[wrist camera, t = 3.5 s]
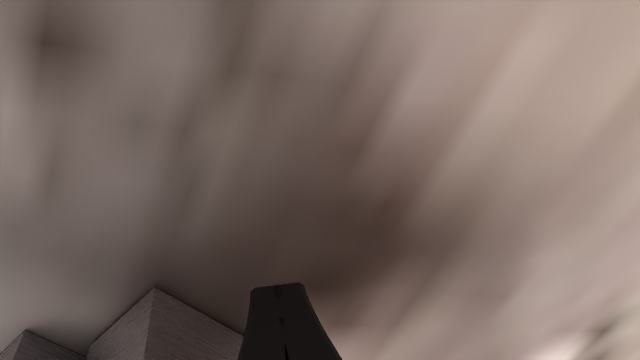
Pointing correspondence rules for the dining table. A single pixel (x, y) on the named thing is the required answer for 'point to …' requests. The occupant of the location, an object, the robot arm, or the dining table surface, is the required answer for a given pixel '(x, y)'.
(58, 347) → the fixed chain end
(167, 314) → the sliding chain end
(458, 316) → the dining table surface
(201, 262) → the dining table surface
